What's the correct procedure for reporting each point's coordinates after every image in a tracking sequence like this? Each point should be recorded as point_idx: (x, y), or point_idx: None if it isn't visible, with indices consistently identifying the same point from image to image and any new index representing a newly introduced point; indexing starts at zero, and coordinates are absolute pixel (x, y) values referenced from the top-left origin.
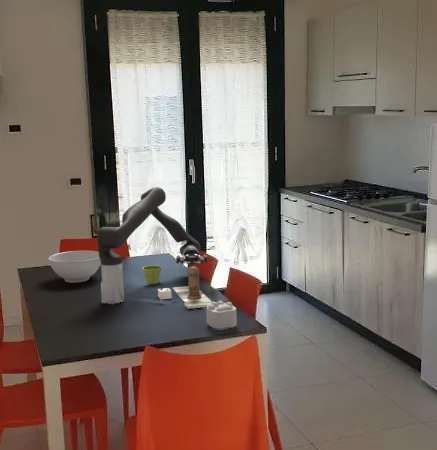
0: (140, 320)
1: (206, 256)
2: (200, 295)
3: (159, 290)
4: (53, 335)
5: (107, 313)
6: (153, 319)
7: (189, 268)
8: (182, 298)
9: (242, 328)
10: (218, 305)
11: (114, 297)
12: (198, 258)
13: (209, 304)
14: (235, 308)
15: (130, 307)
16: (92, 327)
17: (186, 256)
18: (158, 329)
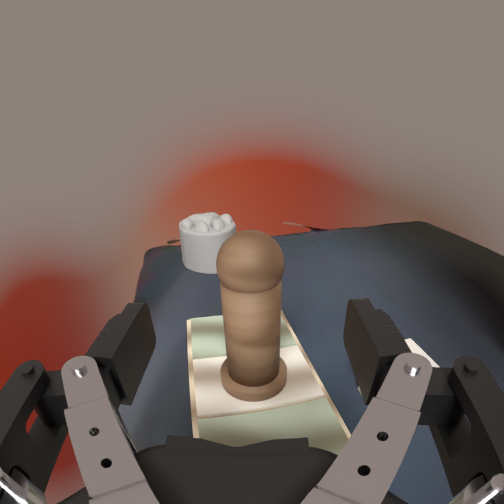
0: (386, 277)
1: (5, 393)
2: (225, 361)
3: (422, 352)
4: (473, 248)
5: (482, 302)
6: (359, 280)
7: (273, 239)
8: (309, 374)
9: (177, 250)
10: (212, 215)
11: None
12: (121, 423)
13: (226, 228)
14: (181, 221)
15: (465, 334)
16: (449, 261)
17: (352, 434)
18: (330, 253)
